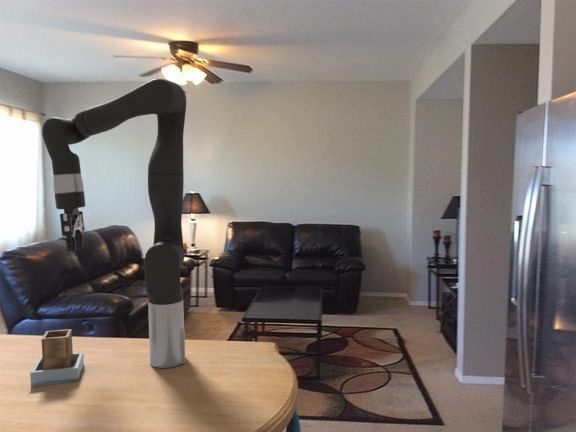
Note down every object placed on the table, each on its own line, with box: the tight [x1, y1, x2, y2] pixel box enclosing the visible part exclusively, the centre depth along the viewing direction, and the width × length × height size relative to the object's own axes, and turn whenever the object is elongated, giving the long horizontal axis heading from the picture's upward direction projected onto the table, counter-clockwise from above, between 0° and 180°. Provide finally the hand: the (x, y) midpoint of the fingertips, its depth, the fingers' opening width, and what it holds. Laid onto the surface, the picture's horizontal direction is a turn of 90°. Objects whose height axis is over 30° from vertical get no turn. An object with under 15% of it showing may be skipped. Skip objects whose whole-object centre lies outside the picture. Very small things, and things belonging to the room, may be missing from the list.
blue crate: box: [29, 351, 85, 388], centre depth 125 cm, size 11×11×4 cm
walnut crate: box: [41, 328, 74, 370], centre depth 125 cm, size 6×6×10 cm
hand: (75, 249), depth 137 cm, fingers open, 8 cm apart
